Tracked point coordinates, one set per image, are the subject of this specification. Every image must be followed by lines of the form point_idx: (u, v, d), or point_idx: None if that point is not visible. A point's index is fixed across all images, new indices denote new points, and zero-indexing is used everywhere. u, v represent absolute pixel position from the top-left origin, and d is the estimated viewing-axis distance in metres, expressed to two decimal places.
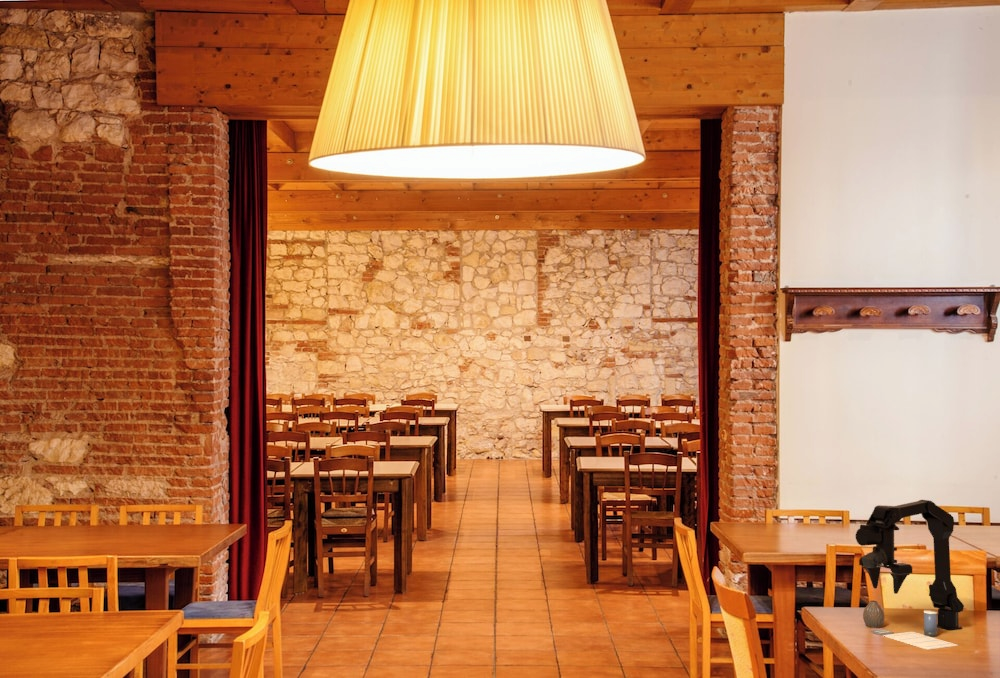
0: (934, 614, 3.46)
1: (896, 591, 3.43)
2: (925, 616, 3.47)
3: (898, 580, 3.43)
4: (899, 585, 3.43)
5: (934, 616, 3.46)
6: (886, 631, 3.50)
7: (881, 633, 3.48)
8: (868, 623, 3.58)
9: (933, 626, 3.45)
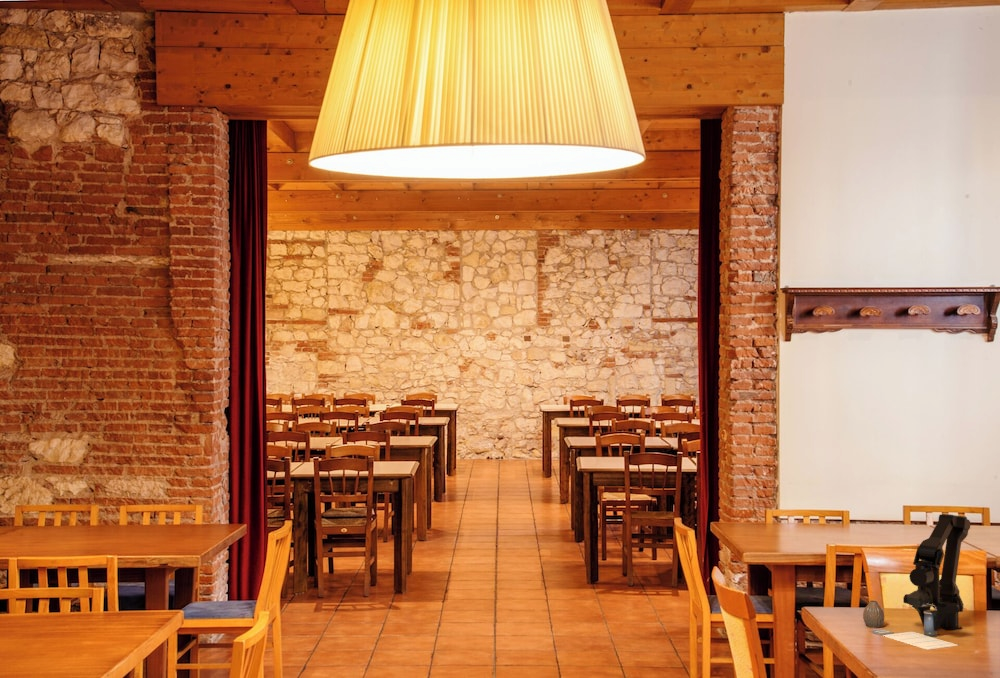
0: None
1: (936, 628, 3.45)
2: (925, 616, 3.47)
3: (938, 617, 3.45)
4: (939, 622, 3.45)
5: None
6: (886, 631, 3.50)
7: (881, 633, 3.48)
8: (868, 623, 3.58)
9: (933, 626, 3.45)
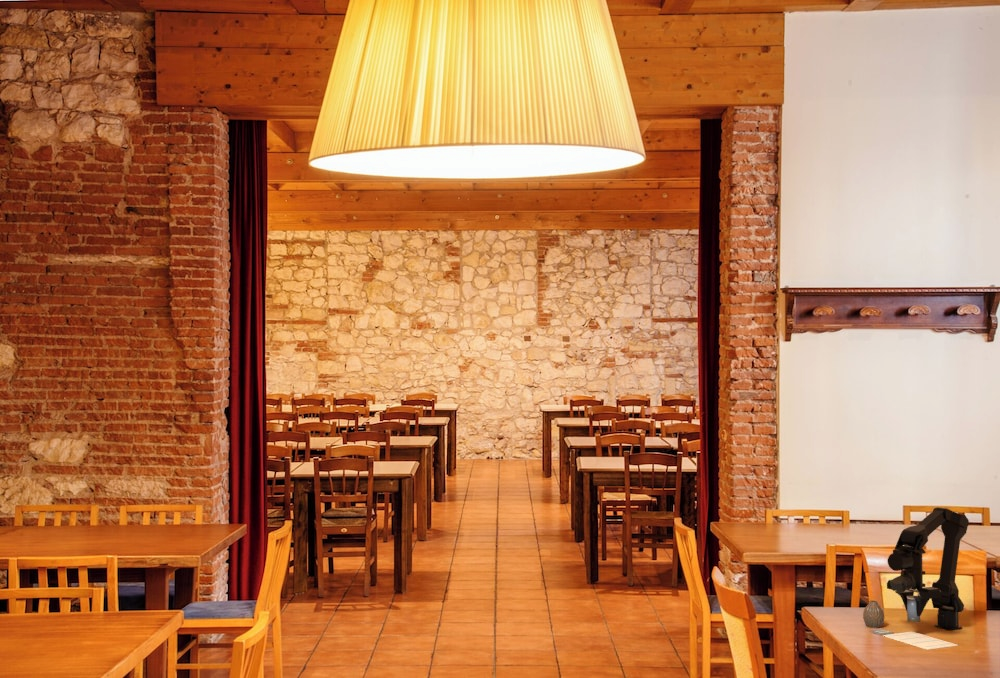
0: None
1: (919, 614, 3.45)
2: (908, 601, 3.47)
3: (921, 603, 3.44)
4: (922, 608, 3.45)
5: None
6: (886, 631, 3.50)
7: (881, 633, 3.48)
8: (868, 623, 3.58)
9: (916, 612, 3.45)
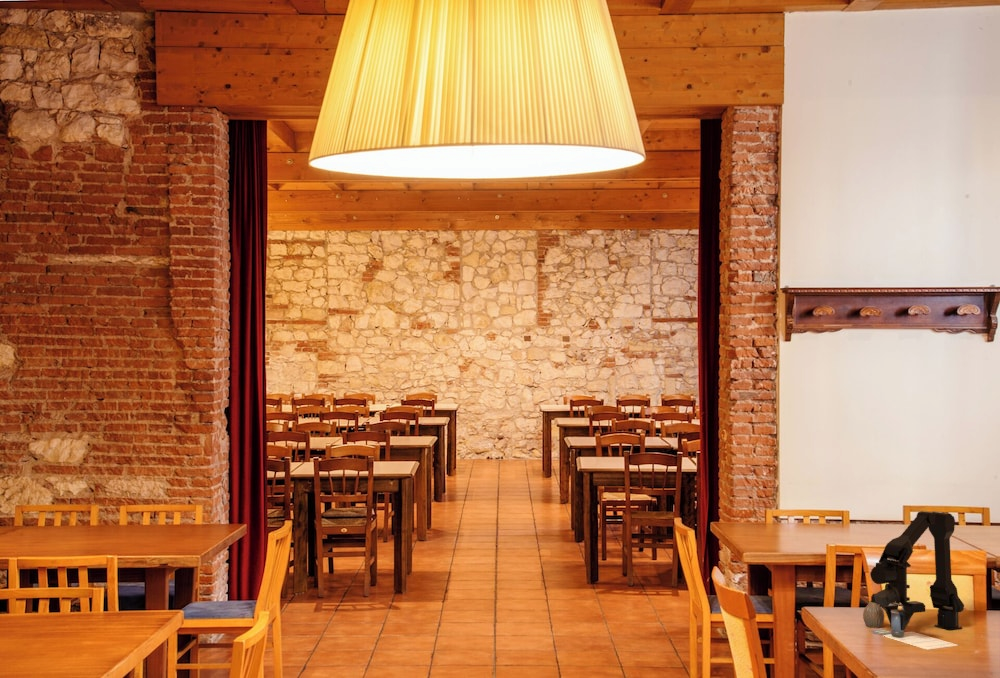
0: None
1: (903, 628, 3.42)
2: (892, 615, 3.44)
3: (905, 617, 3.41)
4: (906, 622, 3.42)
5: None
6: (886, 631, 3.50)
7: (881, 633, 3.48)
8: (868, 623, 3.58)
9: (900, 626, 3.42)
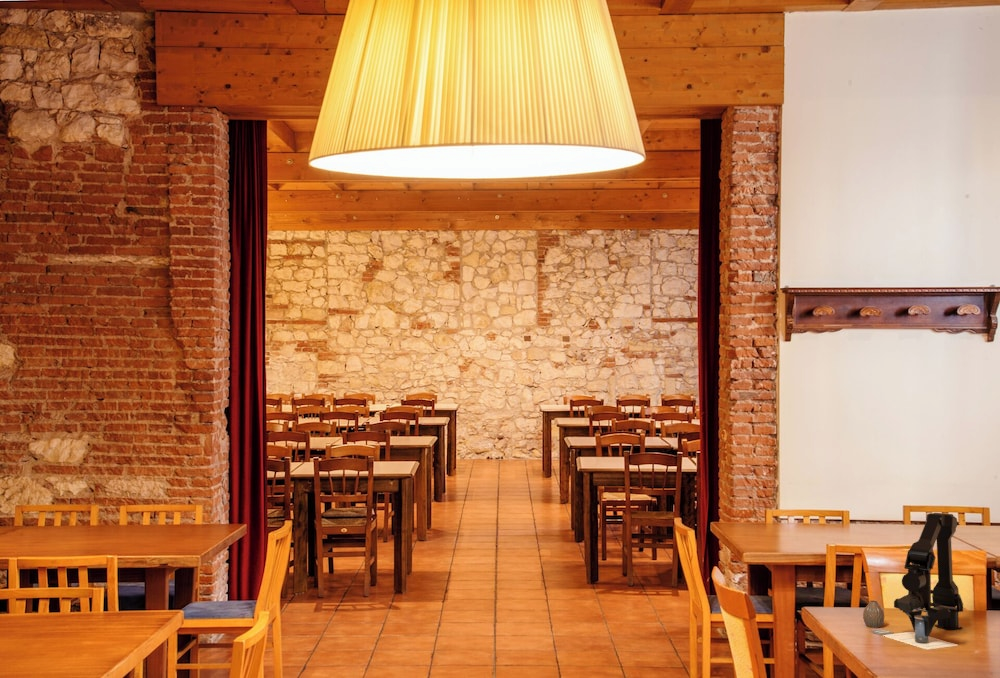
0: None
1: (927, 634, 3.35)
2: (916, 621, 3.37)
3: (929, 623, 3.34)
4: (930, 628, 3.34)
5: None
6: (886, 631, 3.50)
7: (881, 633, 3.48)
8: (868, 623, 3.58)
9: (924, 632, 3.35)
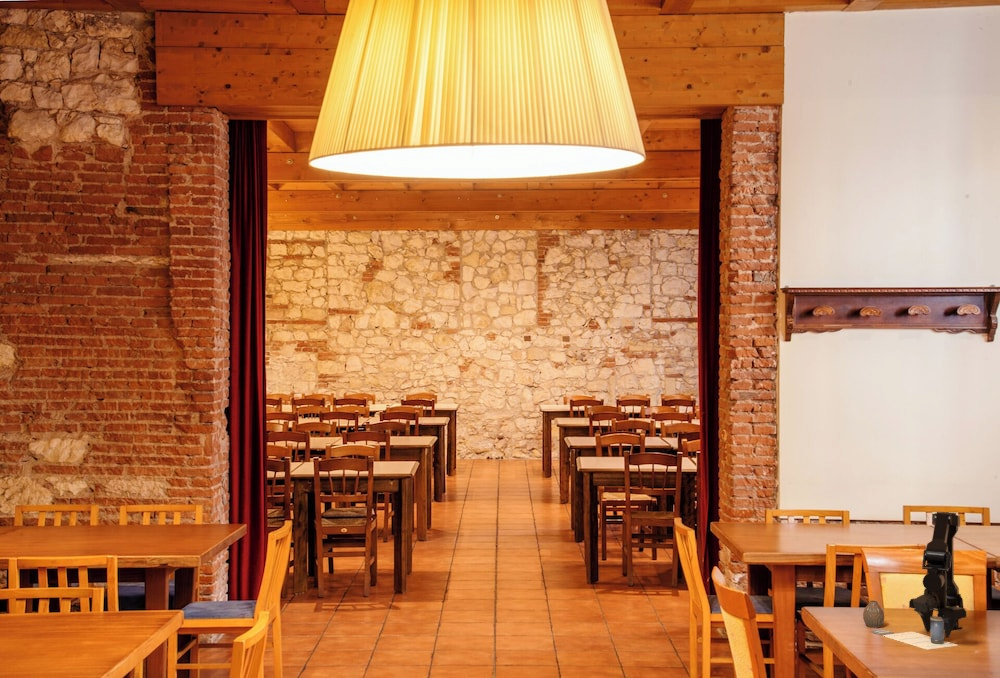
0: (941, 621, 3.35)
1: (947, 635, 3.33)
2: (931, 623, 3.36)
3: (949, 624, 3.32)
4: (950, 629, 3.33)
5: (941, 623, 3.35)
6: (886, 631, 3.50)
7: (881, 633, 3.48)
8: (868, 623, 3.58)
9: (940, 633, 3.35)
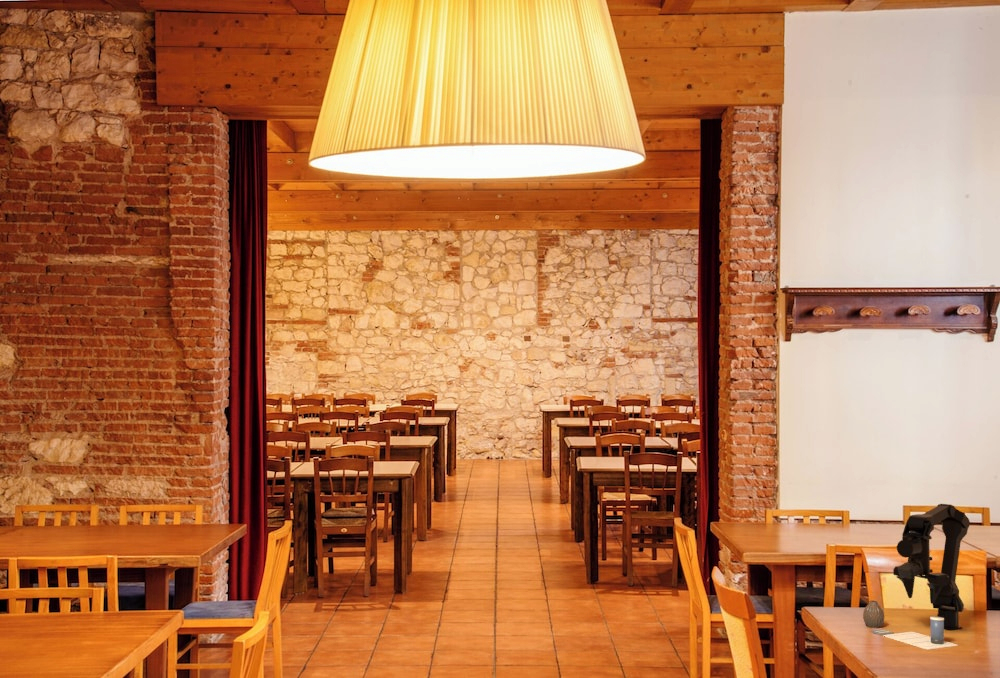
0: (941, 620, 3.35)
1: (933, 601, 3.42)
2: (931, 623, 3.36)
3: (935, 590, 3.42)
4: (936, 595, 3.42)
5: (941, 623, 3.35)
6: (886, 631, 3.50)
7: (881, 633, 3.48)
8: (868, 623, 3.58)
9: (940, 633, 3.35)
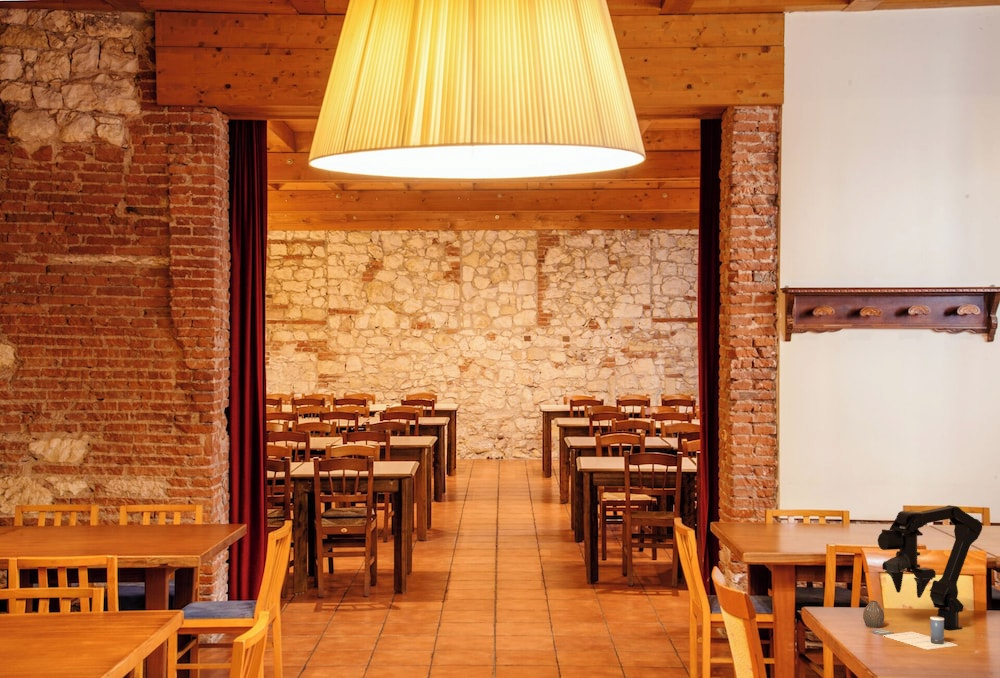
0: (941, 621, 3.35)
1: (919, 595, 3.50)
2: (932, 623, 3.36)
3: (921, 584, 3.49)
4: (922, 589, 3.50)
5: (941, 623, 3.35)
6: (886, 631, 3.50)
7: (881, 633, 3.48)
8: (868, 623, 3.58)
9: (940, 633, 3.35)
